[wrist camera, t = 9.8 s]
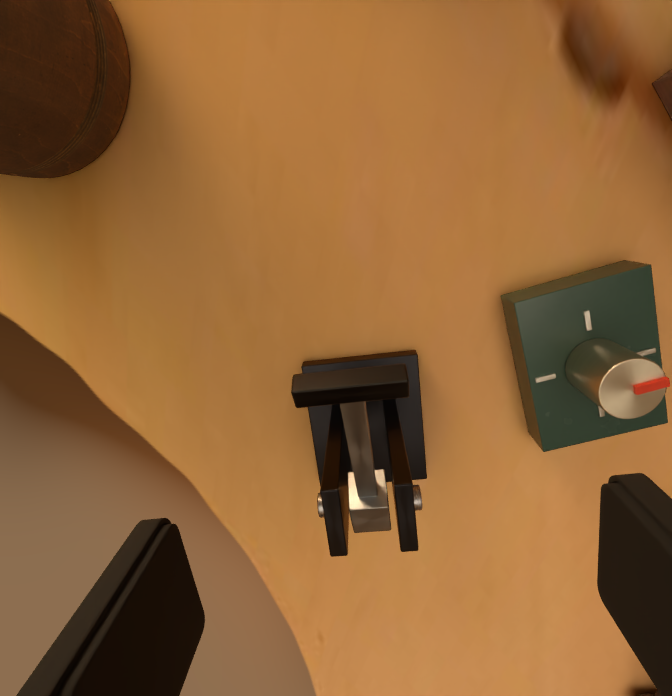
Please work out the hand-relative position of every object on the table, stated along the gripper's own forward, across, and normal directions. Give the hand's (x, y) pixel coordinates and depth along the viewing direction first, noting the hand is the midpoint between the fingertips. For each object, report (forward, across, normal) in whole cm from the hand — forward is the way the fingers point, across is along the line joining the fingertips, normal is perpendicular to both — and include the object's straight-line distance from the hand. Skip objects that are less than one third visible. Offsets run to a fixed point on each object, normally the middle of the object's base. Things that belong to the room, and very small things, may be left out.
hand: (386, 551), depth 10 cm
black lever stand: (+25, +1, +9) cm, 27 cm away
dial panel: (+25, -16, +6) cm, 30 cm away
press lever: (+13, +1, +4) cm, 14 cm away
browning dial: (+22, -16, +6) cm, 27 cm away
